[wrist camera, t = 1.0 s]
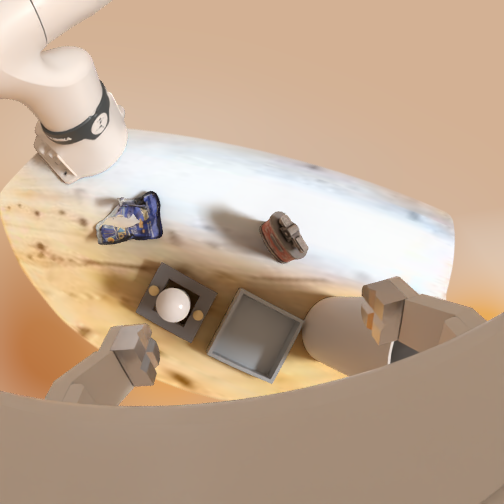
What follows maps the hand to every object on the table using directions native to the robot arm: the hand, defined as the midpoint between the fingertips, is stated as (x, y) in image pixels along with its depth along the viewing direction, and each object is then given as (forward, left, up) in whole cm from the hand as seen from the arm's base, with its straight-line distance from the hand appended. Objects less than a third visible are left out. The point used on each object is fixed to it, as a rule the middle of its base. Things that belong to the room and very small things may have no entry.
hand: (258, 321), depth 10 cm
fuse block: (-4, -3, -37) cm, 38 cm away
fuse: (-4, -3, -37) cm, 38 cm away
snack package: (-18, +5, -38) cm, 42 cm away
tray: (+10, -2, -37) cm, 39 cm away
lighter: (+6, +14, -38) cm, 40 cm away
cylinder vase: (+23, +5, -38) cm, 44 cm away
